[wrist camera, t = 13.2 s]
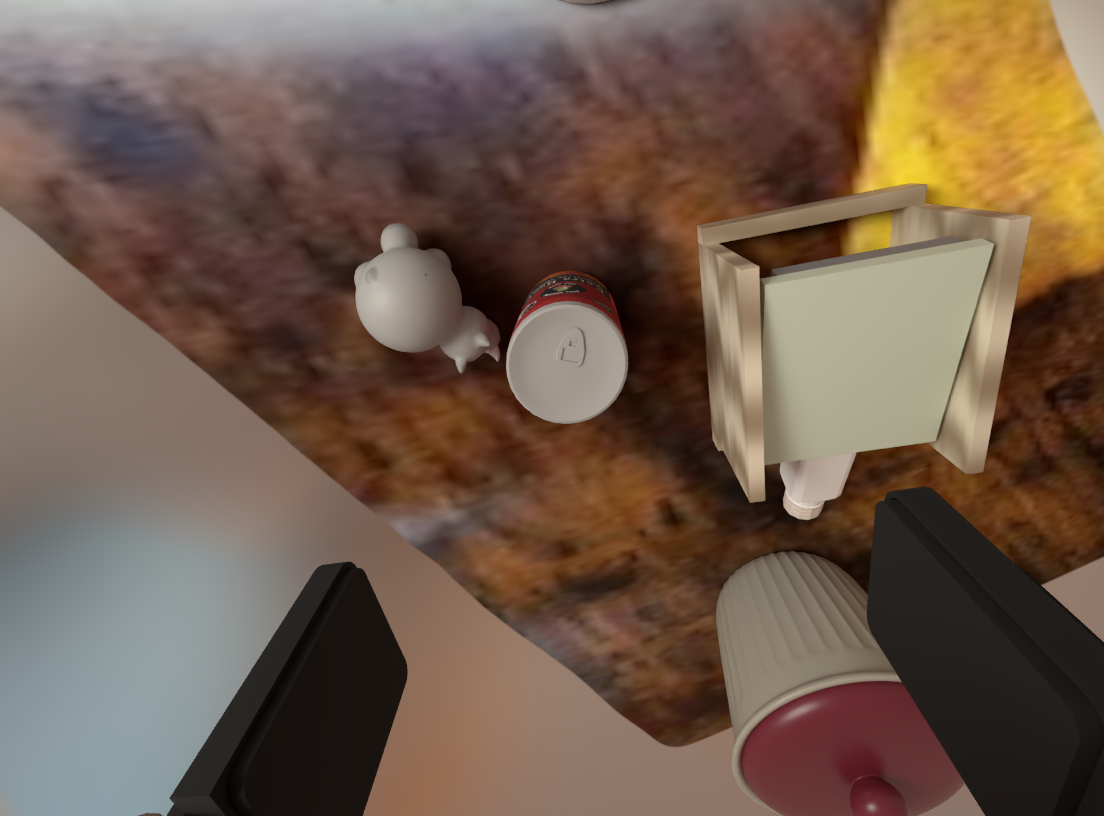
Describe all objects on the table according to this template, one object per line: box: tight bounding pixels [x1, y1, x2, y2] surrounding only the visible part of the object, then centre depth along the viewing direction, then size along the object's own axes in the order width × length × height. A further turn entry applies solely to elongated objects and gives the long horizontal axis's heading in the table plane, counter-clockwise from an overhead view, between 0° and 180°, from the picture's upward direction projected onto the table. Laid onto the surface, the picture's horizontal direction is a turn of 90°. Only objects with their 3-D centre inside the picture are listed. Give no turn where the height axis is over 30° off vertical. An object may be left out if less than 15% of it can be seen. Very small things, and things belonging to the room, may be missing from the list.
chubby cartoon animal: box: [355, 223, 500, 373], centre depth 38 cm, size 7×12×8 cm, turn 45°
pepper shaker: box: [780, 452, 856, 520], centre depth 43 cm, size 4×4×10 cm
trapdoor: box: [760, 236, 994, 465], centre depth 33 cm, size 14×12×2 cm
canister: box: [716, 551, 965, 816], centre depth 44 cm, size 18×18×21 cm
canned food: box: [506, 271, 628, 424], centre depth 36 cm, size 8×8×11 cm
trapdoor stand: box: [697, 183, 1031, 503], centre depth 36 cm, size 18×15×11 cm
